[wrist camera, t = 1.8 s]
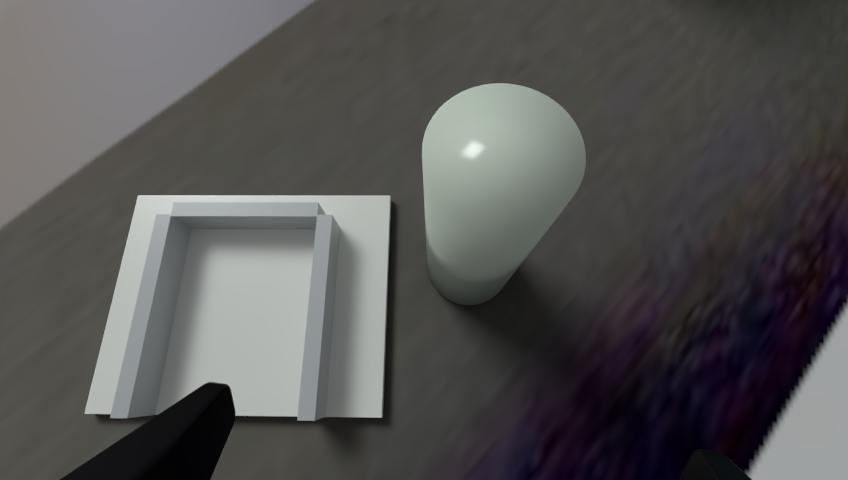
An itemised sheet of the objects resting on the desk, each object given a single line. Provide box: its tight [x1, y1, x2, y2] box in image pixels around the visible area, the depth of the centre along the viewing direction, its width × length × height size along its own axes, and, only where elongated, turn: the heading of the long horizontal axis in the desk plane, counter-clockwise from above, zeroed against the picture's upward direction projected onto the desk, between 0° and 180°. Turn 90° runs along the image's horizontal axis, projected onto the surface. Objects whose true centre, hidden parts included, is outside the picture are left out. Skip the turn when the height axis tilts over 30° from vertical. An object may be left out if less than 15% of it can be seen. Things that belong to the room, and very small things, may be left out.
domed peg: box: [422, 83, 586, 305], centre depth 18 cm, size 5×5×12 cm
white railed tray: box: [84, 195, 391, 421], centre depth 22 cm, size 12×15×3 cm
